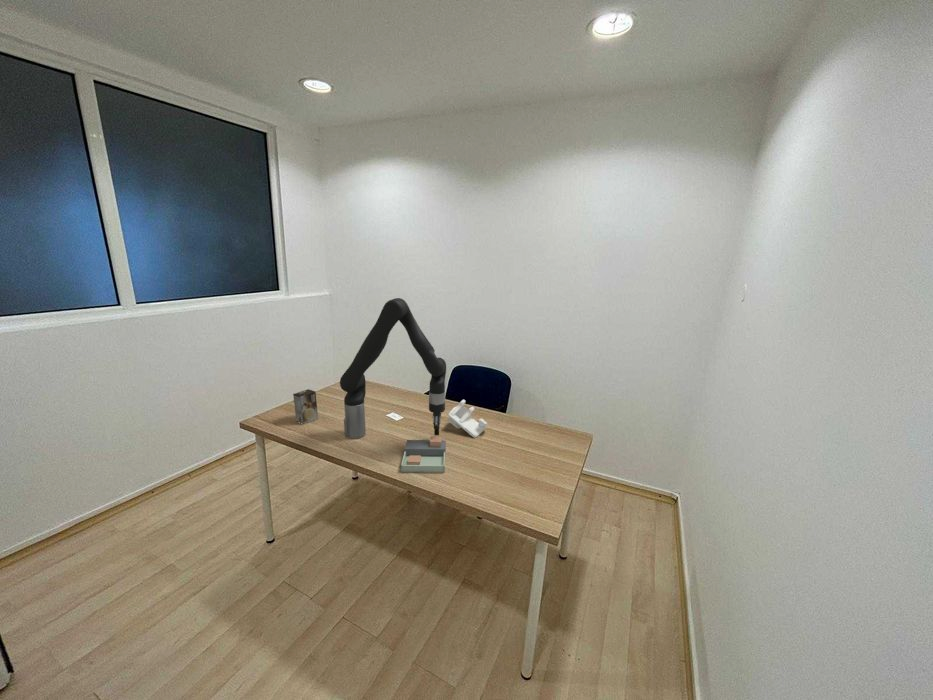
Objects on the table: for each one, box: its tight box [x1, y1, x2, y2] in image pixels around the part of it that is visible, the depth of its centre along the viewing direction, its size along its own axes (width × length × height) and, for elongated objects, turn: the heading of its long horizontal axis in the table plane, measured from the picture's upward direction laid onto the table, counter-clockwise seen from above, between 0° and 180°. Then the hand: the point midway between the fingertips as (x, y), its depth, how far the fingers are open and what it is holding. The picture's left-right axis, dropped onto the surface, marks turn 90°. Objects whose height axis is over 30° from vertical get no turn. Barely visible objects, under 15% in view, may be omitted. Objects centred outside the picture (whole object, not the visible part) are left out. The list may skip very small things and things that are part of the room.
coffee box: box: [292, 388, 319, 425], centre depth 187 cm, size 9×6×16 cm
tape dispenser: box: [447, 399, 488, 439], centre depth 182 cm, size 20×11×13 cm, turn 62°
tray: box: [400, 450, 446, 474], centre depth 151 cm, size 18×11×3 cm, turn 92°
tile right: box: [429, 435, 443, 447], centre depth 160 cm, size 5×5×2 cm
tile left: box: [408, 455, 421, 465], centre depth 151 cm, size 5×5×2 cm
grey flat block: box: [404, 439, 447, 457], centre depth 161 cm, size 18×8×4 cm, turn 92°
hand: (436, 434), depth 167 cm, fingers closed
